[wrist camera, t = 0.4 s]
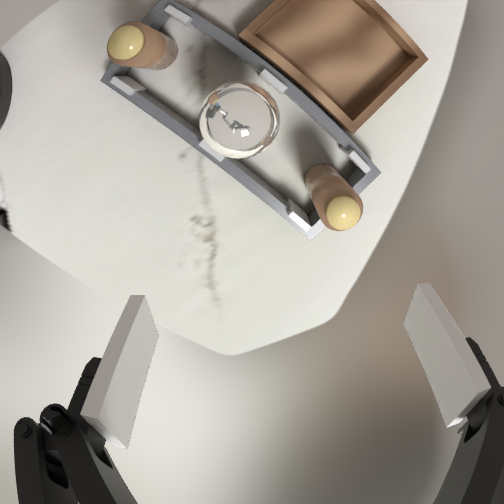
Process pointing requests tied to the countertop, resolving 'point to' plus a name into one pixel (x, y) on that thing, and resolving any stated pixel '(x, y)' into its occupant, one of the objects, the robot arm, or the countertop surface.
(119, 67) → the holder
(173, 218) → the countertop surface
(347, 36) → the tray
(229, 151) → the light bulb
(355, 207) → the cylinder
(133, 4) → the countertop surface
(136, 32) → the cylinder
